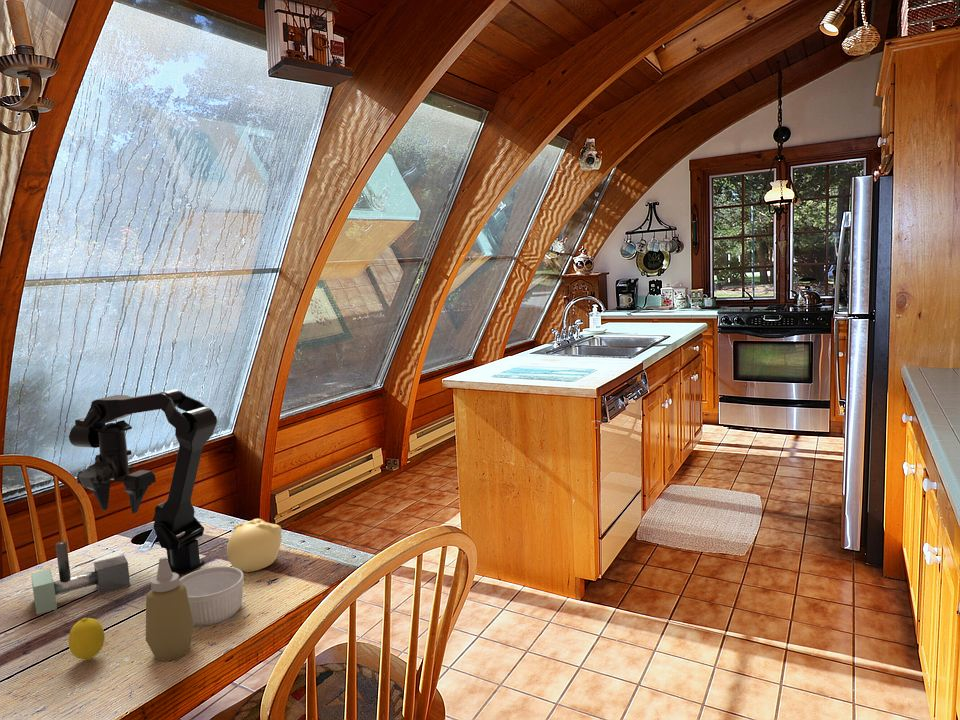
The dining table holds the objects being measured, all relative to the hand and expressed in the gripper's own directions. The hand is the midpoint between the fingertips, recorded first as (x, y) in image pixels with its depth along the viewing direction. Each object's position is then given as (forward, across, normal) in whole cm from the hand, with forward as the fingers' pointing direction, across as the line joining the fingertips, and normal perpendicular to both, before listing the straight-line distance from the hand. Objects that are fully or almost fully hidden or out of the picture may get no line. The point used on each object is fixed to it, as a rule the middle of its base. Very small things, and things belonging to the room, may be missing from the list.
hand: (119, 511), depth 161 cm
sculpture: (+12, +34, +5) cm, 36 cm away
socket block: (+12, +2, -23) cm, 26 cm away
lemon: (+12, +29, -36) cm, 48 cm away
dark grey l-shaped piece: (+10, +5, -19) cm, 22 cm away
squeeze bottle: (+12, +42, -30) cm, 53 cm away
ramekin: (+12, +39, -16) cm, 44 cm away
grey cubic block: (+12, +9, -12) cm, 20 cm away
